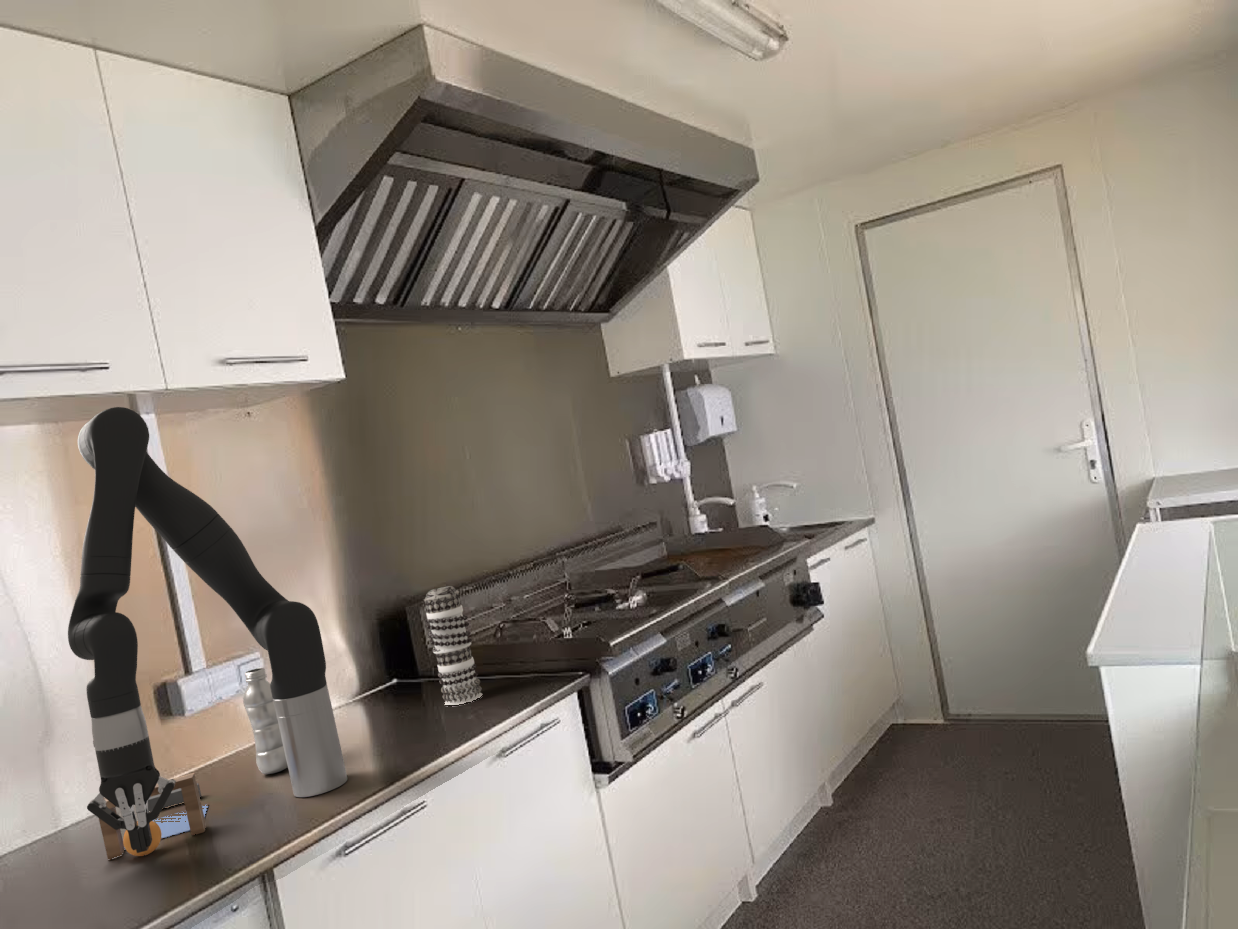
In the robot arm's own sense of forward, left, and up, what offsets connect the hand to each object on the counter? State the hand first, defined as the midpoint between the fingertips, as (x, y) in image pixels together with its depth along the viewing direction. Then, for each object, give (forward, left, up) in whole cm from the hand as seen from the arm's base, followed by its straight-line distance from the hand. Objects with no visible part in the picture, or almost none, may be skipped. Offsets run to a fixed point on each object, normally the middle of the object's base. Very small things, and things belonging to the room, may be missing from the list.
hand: (142, 850), depth 154 cm
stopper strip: (-30, +1, -2) cm, 30 cm away
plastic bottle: (-33, +19, -2) cm, 38 cm away
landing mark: (-16, +1, -2) cm, 16 cm away
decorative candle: (-49, +58, -2) cm, 76 cm away
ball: (-4, 0, +1) cm, 4 cm away
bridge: (-8, +1, -2) cm, 8 cm away
